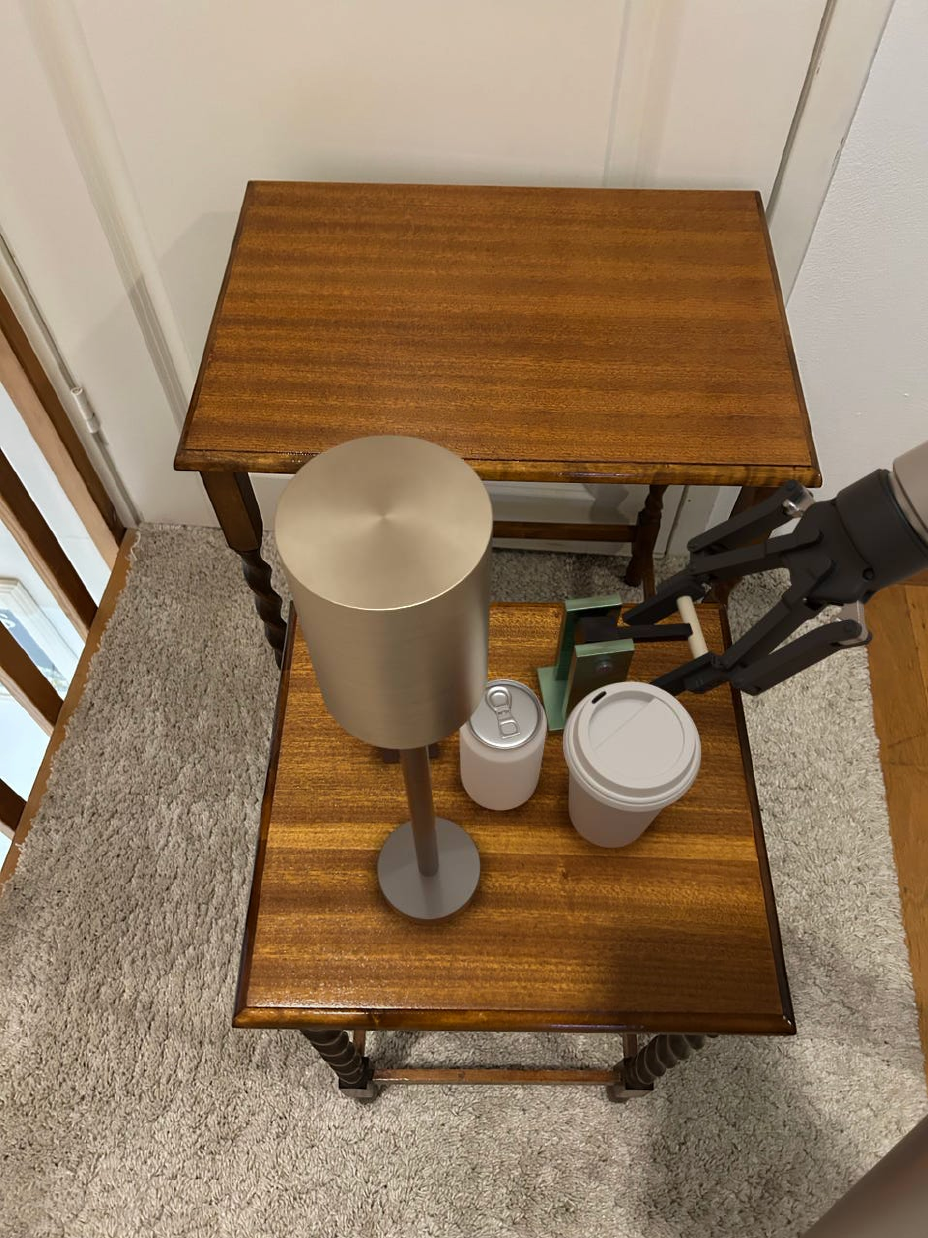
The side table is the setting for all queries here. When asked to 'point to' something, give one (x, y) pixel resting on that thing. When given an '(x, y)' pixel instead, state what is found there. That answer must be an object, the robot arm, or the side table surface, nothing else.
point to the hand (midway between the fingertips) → (641, 657)
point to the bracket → (582, 661)
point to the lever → (645, 630)
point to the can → (503, 746)
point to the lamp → (397, 629)
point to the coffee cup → (627, 760)
